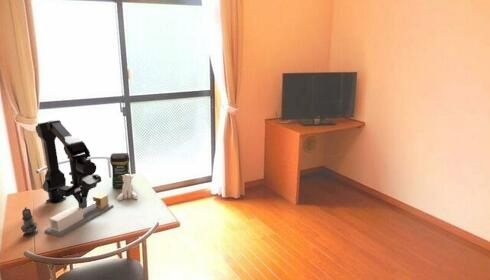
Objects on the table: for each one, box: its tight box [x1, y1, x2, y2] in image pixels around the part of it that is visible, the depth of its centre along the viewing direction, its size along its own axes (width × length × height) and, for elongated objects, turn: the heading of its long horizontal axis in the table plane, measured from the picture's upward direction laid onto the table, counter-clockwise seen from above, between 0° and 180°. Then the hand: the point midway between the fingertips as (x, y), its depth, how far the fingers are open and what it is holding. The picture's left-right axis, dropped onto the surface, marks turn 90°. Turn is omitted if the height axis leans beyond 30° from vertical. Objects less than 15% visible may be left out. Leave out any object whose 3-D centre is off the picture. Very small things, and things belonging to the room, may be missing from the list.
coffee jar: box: [109, 152, 131, 189], centre depth 186 cm, size 10×8×19 cm
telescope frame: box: [44, 192, 114, 238], centre depth 154 cm, size 9×29×6 cm, turn 156°
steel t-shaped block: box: [77, 195, 96, 215], centre depth 152 cm, size 3×17×8 cm, turn 156°
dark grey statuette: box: [20, 206, 39, 238], centre depth 141 cm, size 6×6×12 cm
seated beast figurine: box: [116, 173, 138, 201], centre depth 175 cm, size 10×9×12 cm
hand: (82, 202), depth 154 cm, fingers closed on steel t-shaped block, 2 cm apart
